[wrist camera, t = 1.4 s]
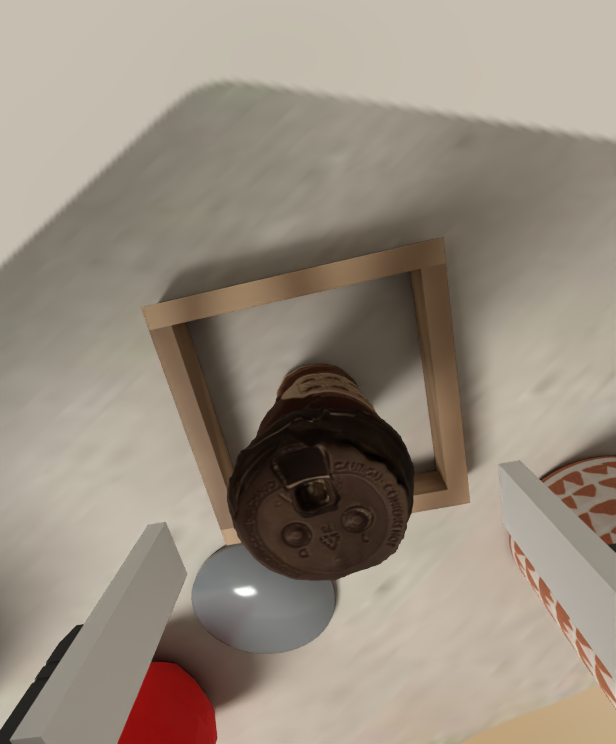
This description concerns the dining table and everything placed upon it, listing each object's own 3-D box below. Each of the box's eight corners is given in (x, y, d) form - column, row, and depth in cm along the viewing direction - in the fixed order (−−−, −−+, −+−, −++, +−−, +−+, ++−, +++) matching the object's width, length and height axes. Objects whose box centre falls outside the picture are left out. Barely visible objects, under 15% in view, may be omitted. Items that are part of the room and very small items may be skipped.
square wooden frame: (233, 522, 30) (226, 545, 27) (157, 303, 24) (140, 307, 22) (456, 482, 28) (470, 502, 26) (429, 240, 23) (443, 237, 20)
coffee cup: (286, 327, 25) (260, 389, 12) (392, 366, 25) (469, 463, 13) (248, 430, 27) (195, 570, 15) (347, 464, 28) (375, 623, 15)
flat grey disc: (217, 655, 34) (215, 662, 34) (174, 552, 31) (172, 558, 30) (346, 636, 33) (346, 642, 33) (318, 527, 30) (318, 532, 29)
